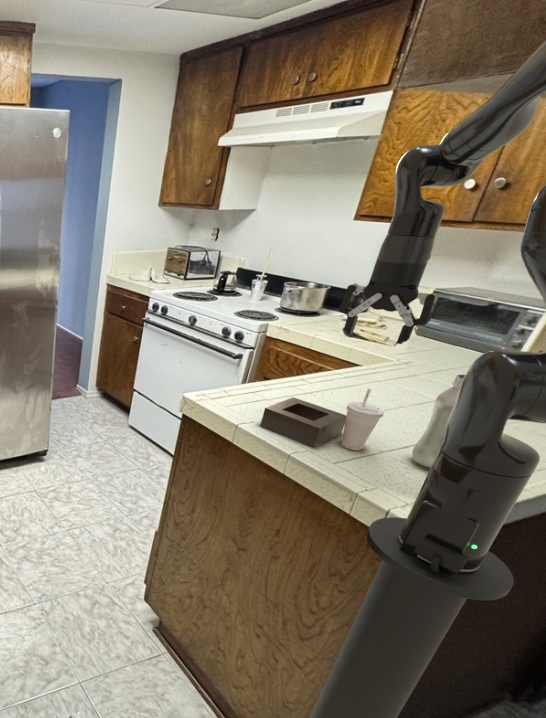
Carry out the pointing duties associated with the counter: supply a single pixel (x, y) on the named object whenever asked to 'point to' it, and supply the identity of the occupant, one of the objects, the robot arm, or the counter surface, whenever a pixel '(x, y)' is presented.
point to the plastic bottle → (437, 425)
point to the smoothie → (360, 423)
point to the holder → (303, 421)
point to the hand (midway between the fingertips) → (373, 338)
